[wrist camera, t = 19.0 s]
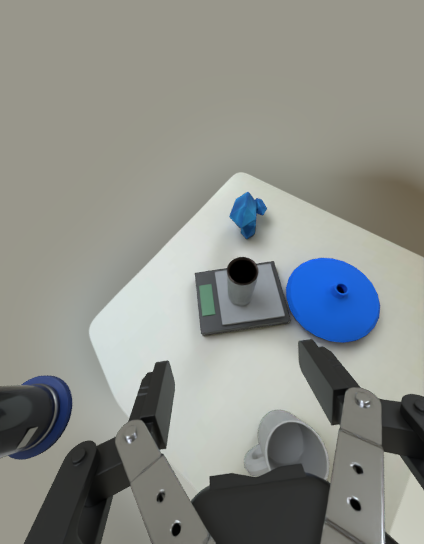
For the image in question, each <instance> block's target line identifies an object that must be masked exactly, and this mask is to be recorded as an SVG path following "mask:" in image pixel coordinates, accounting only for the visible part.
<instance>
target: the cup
mask: <svg viewBox="0 0 424 544" xmlns="http://www.w3.org/2000/svg"><path fill="white" fill-rule="evenodd" d="M258 441H259V444H258V445H256V446H254V447H253V448H252V449H250V450H249V451H248V453H247V454H246V455H245V458H244V466H245V469H246V470H247V471H248V473H249V474H250V475H252V476H261V475H263V474H265V473H267V472H269V471H271V470H273V469H275V468H277V467H279V466H286V465H293V464H300V463H302V466H303V468H304V471H305V472H307V473H311V474H314V475H317V476H319V477H321V478H323V479H325V480H326V481H327V477H328V474H329V458H328V453H327V450H326V447H325V445H324V442H323V441H322V439H321V438H320V436H319V434H318V433H317V432H316V431H315V430H314V429H313V428H312V427H310V426H309V425H307V424H306V423H304V422H303V421H301V420H300V419H298V418H297V417H295V416H294V415H292V414H291V413H289V412H286V411H283V410H274V411H270V412H269V413H267V414H266V415H265V416H264V417H263V418H262V420H261V422H260V424H259V429H258Z"/></svg>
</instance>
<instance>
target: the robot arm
mask: <svg viewBox="0 0 424 544" xmlns="http://www.w3.org/2000/svg"><path fill="white" fill-rule="evenodd" d="M298 347H299V365H300V368H301V371H302V373H303V375H304V377H305V378H306V380H307V382H308V384H309V385H310V387H311V389H312V391H313V393H314V394H315V396H316V398H317V400H318V402H319V403H320V405H321V407H322V409H323V411H324V412H325V414H326V416H327V418H328V420H329V421H330V423H331V425H338V424H339V425H340V428H339V432H338V438H337V444H336V451H335V457H334V464H333V470H332V477H331V483H329V482H328V481H326V480H325V479H323V478H321V477H319V476H317V475H314V474H311V473H307V472H305V471H304V468H303V466H302V463H300V464H293V465H286V466H279V467H277V468H275V469H273V470H271V471H269V472H267V473H265V474H263V475H261V476H259V477H251V476H245V475H239V474H234V473H230V474H223V475H216V476H210V485H209V486H207V487H206V488H204V489H203V490H201V491H200V492H199V493H198V494H197V495H196V496H195V497H194V498H193V499H192V501H190V499H189V498H188V496H187V494H186V493H185V491H184V489H183V487H182V486H181V484H180V482H179V480H178V478H177V477H176V475H175V473H174V471H173V470H172V468H171V466H170V464H169V463H168V461H167V459H166V457H165V456H164V454H161V452H160V449H166V446H167V439H168V432H169V426H170V419H171V412H172V405H173V399H174V392H175V382H174V377H173V374H172V370H171V366H170V363H169V361H162V362H156V363H155V366H154V370H153V372H149V373H147V374H146V376H145V377H144V378H143V380H142V382H141V385H140V389H139V391H138V394H137V397H136V400H135V403H134V406H133V409H132V412H131V415H130V418H129V421H128V423H126V424H125V425H124V426H123V427H122V428H121V429H120V430H119V431H118V433H117V435H116V437H114V438H112V439H110V440H108V441H106V442H104V443H102V444H100V445H98V446H96V444H95V443H94V442H93V441H85V442H82V443H80V444H78V445H77V446H75V447H74V448H73V449H72V450H71V451H70V452H69V453H68V454H67V456H66V457H65V459H64V461H63V463H62V465H61V467H60V469H59V471H58V473H57V475H56V478H55V480H54V482H53V484H52V486H51V488H50V490H49V492H48V494H47V496H46V498H45V501H44V503H43V505H42V507H41V509H40V511H39V513H38V515H37V517H36V520H35V522H34V524H33V526H32V528H31V530H30V532H29V534H28V536H27V538H26V540H25V542H24V544H101V541H102V537H103V533H104V529H105V525H106V521H107V517H108V513H109V510H110V506H111V502H112V498H113V495H114V494H116V493H118V492H120V491H122V490H123V489H125V488H127V487H129V486H131V489H132V492H133V494H134V497H135V500H136V502H137V505H138V508H139V510H140V513H141V516H142V518H143V521H144V524H145V526H146V529H147V532H148V534H149V537H150V540H151V542H152V544H398V543H397V542H396V541H395V540H394V539H393V538H392V537H391V536H390V535H388V534H387V533H386V532H385V506H384V452H388V453H393V454H398V455H400V456H401V458H402V459H403V461H404V462H405V464H406V465H407V466H408V468H409V469H410V471H411V472H412V474H413V475H414V476H415V478H416V479H417V481H418V482H419V484H420V485H421V487H422V488H423V489H424V397H423V396H420V395H415V394H408V395H405V396H404V397H403V398H402V401H401V402H397V401H389V400H383V399H379V398H377V397H376V396H375V395H374V394H373V393H372V392H370V391H368V390H366V389H363V388H361V387H360V386H359V385H358V384H357V382H356V381H355V380H354V379H353V378H352V376H351V375H350V374H349V373H348V371H347V370H346V369H345V368H344V367H343V366H342V364H341V363H340V362H339V360H337V358H336V357H335V356H334V354H333V353H332V352H331V351H329V350H328V349H326V348H325V347H318V346H317V345H316V343H315V342H314V341H313V340H312V339H309V340H303V341H299V343H298ZM59 412H60V399H59V396H58V393H57V392H56V390H55V389H54V388H53V387H52V386H50V385H47V384H32V385H16V386H0V458H3V457H6V456H9V455H11V454H14V453H17V452H20V451H24V450H27V449H30V448H33V447H35V446H37V445H38V444H40V443H41V442H42V441H43V440H45V439H46V438H47V436H48V435H49V434H50V433H51V431H52V430H53V428H54V426H55V424H56V422H57V419H58V416H59Z"/></svg>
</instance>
